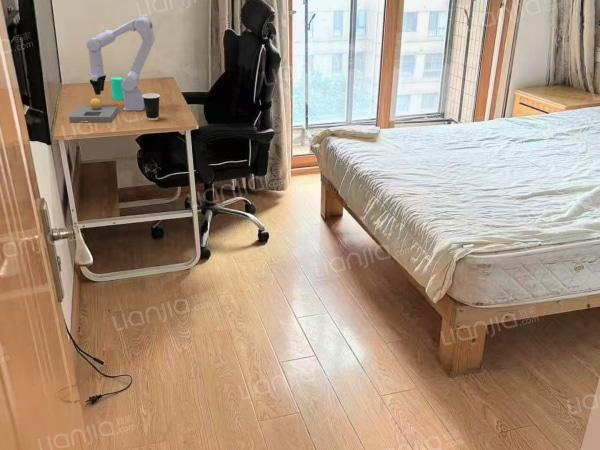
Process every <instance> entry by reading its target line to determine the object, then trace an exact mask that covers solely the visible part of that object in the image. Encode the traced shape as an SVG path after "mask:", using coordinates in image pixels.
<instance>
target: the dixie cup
mask: <svg viewBox="0 0 600 450" xmlns="http://www.w3.org/2000/svg"><path fill="white" fill-rule="evenodd" d="M160 96H161V95H160V94H158V93H153V92H152V93H151V92H150V93H144V95H142V97H143V100H144V105H145V107H144V109H145V113H146V117H147V121H157V120H159V117H160Z"/></svg>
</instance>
